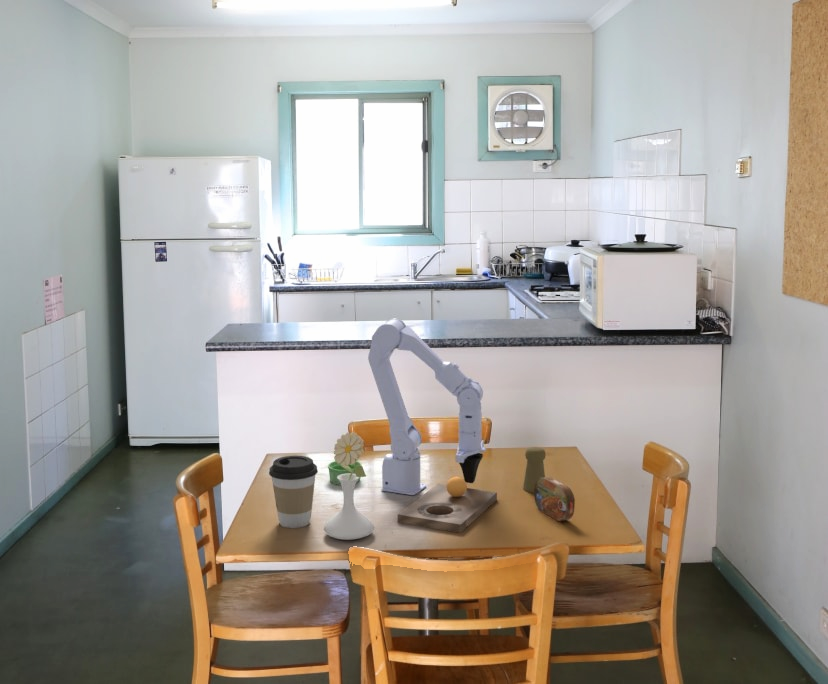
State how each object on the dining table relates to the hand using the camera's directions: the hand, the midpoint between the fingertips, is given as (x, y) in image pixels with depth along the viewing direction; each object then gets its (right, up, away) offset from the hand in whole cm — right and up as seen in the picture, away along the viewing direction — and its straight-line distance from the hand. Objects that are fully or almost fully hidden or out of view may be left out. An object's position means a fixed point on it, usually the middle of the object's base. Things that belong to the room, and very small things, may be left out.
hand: (469, 482), depth 253 cm
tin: (+19, -6, -14) cm, 25 cm away
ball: (-4, 0, -8) cm, 9 cm away
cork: (+17, -2, +4) cm, 18 cm away
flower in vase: (-29, -9, -27) cm, 40 cm away
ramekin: (-32, -1, +11) cm, 34 cm away
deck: (-6, -5, -12) cm, 14 cm away
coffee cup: (-42, -7, -19) cm, 47 cm away
